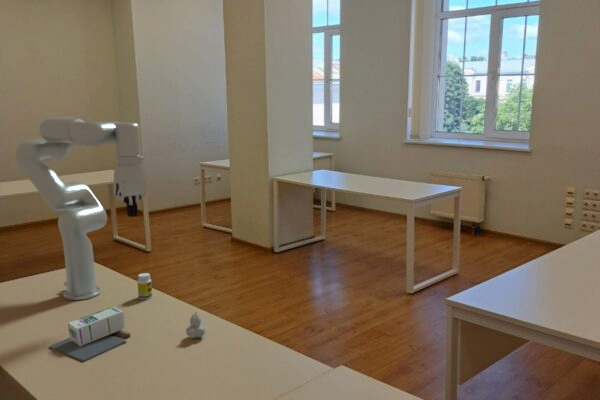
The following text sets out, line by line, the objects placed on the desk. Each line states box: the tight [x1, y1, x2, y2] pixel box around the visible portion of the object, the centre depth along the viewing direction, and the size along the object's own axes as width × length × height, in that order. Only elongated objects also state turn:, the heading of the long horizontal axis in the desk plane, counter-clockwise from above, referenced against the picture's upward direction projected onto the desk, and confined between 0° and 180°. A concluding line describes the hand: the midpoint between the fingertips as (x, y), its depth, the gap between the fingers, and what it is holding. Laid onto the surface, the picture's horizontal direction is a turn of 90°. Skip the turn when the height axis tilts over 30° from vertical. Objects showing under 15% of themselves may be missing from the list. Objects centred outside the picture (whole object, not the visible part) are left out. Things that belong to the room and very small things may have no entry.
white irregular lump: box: [185, 311, 206, 339], centre depth 161 cm, size 5×7×8 cm
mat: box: [48, 334, 127, 363], centre depth 158 cm, size 16×14×1 cm
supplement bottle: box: [137, 272, 153, 300], centre depth 195 cm, size 5×5×8 cm
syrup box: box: [67, 306, 126, 346], centre depth 162 cm, size 6×6×14 cm
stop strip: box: [113, 329, 131, 339], centre depth 166 cm, size 12×1×1 cm, turn 56°
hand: (132, 216), depth 182 cm, fingers closed
